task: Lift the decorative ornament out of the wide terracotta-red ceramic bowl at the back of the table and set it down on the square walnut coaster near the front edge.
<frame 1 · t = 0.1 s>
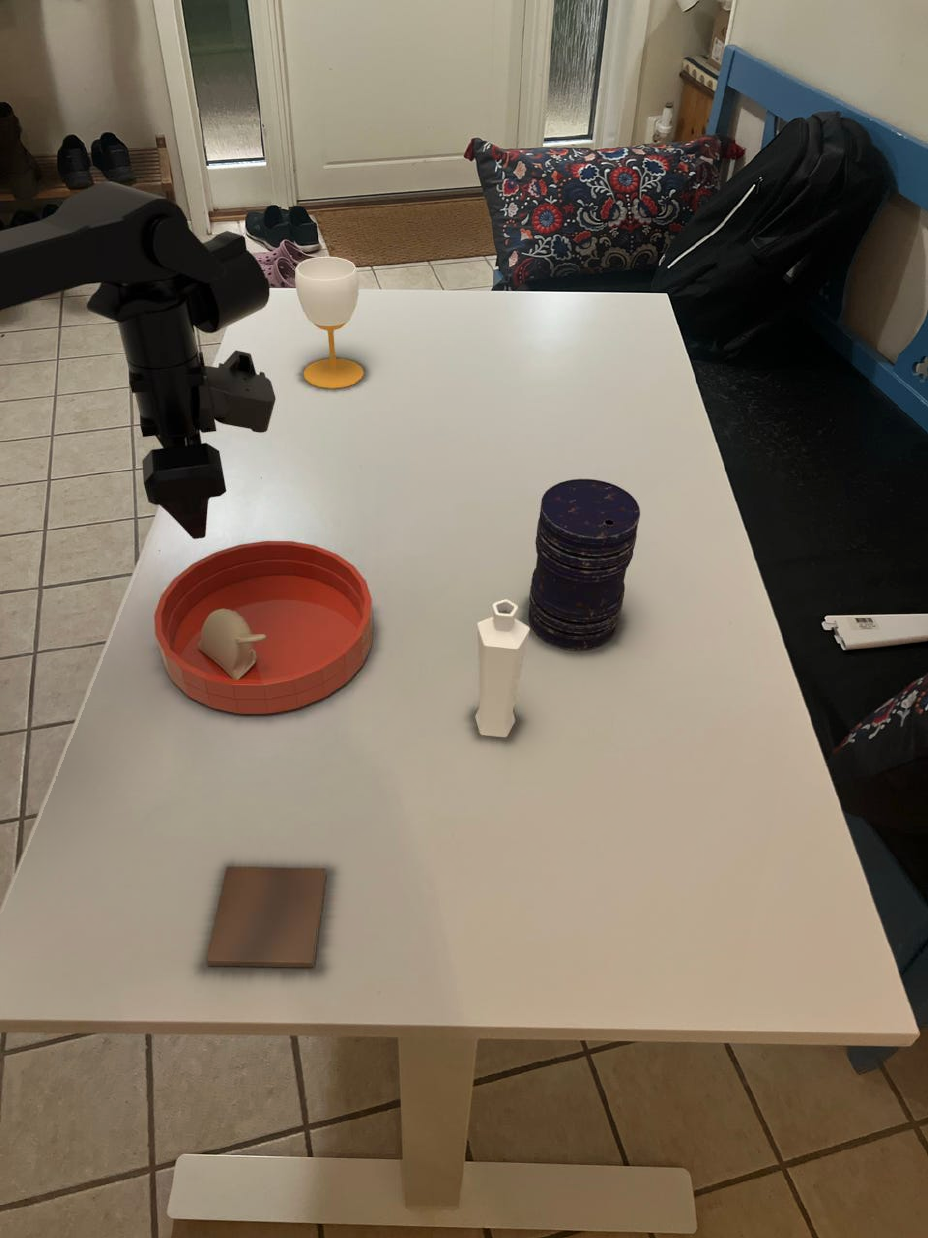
hand: (195, 507, 83), 15 cm above the table, tool pointing down, fingers open, 9 cm apart
perfume bottle: (496, 723, 85), on the table
dark oil barrel: (572, 620, 96), on the table
coaster: (269, 917, 70), on the table
cup: (333, 375, 134), on the table
decorative ornament: (234, 659, 90), resting on bowl
bowl: (269, 638, 93), on the table
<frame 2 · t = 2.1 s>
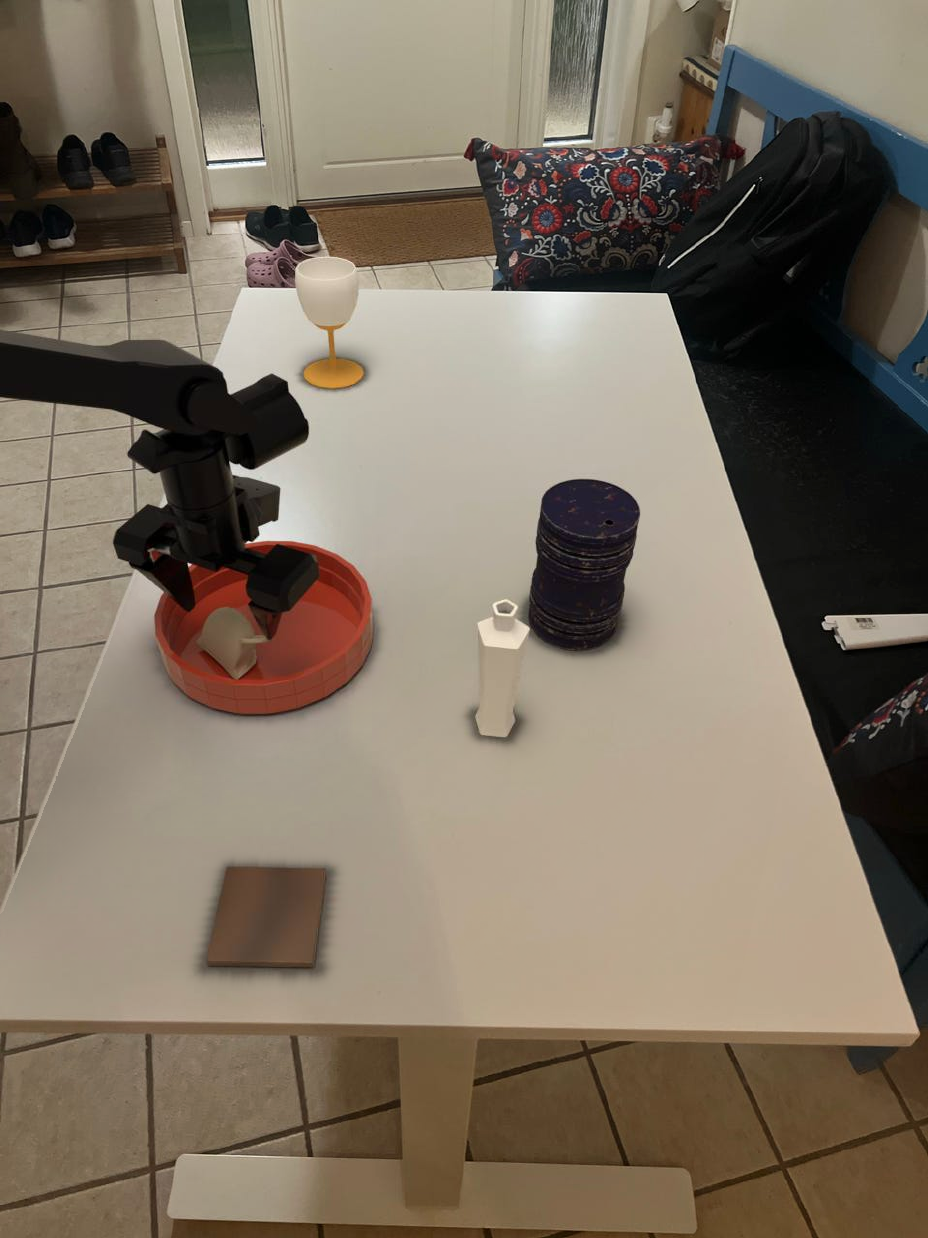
hand: (230, 622, 86), 5 cm above the table, tool pointing down, fingers open, 9 cm apart
decorative ornament: (234, 657, 90), resting on bowl, touching gripper
everything else where it was.
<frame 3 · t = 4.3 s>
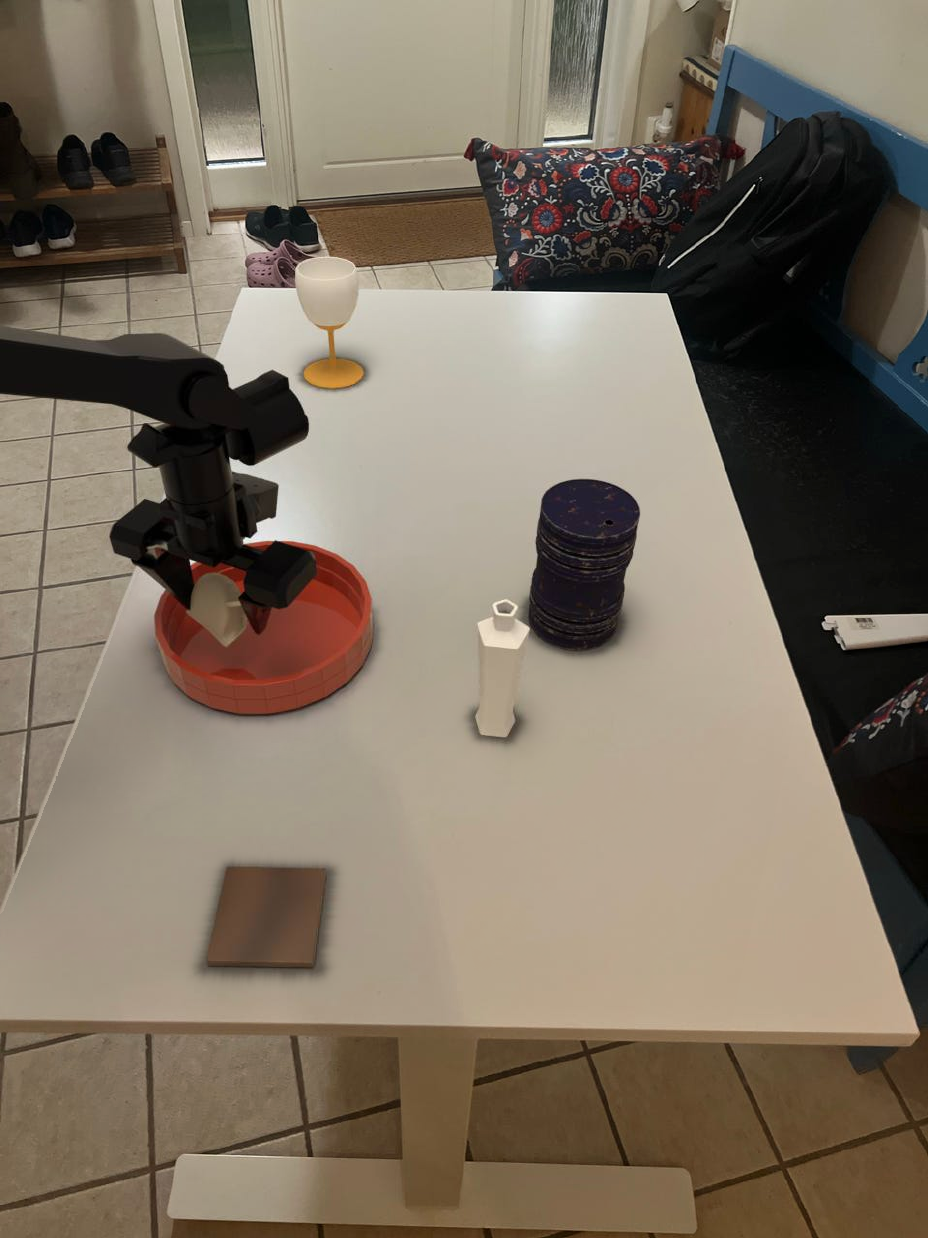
hand: (226, 619, 86), 6 cm above the table, tool pointing down, fingers closed on decorative ornament, 7 cm apart
decorative ornament: (224, 626, 87), point 5 cm above the table, touching gripper
everything else where it was.
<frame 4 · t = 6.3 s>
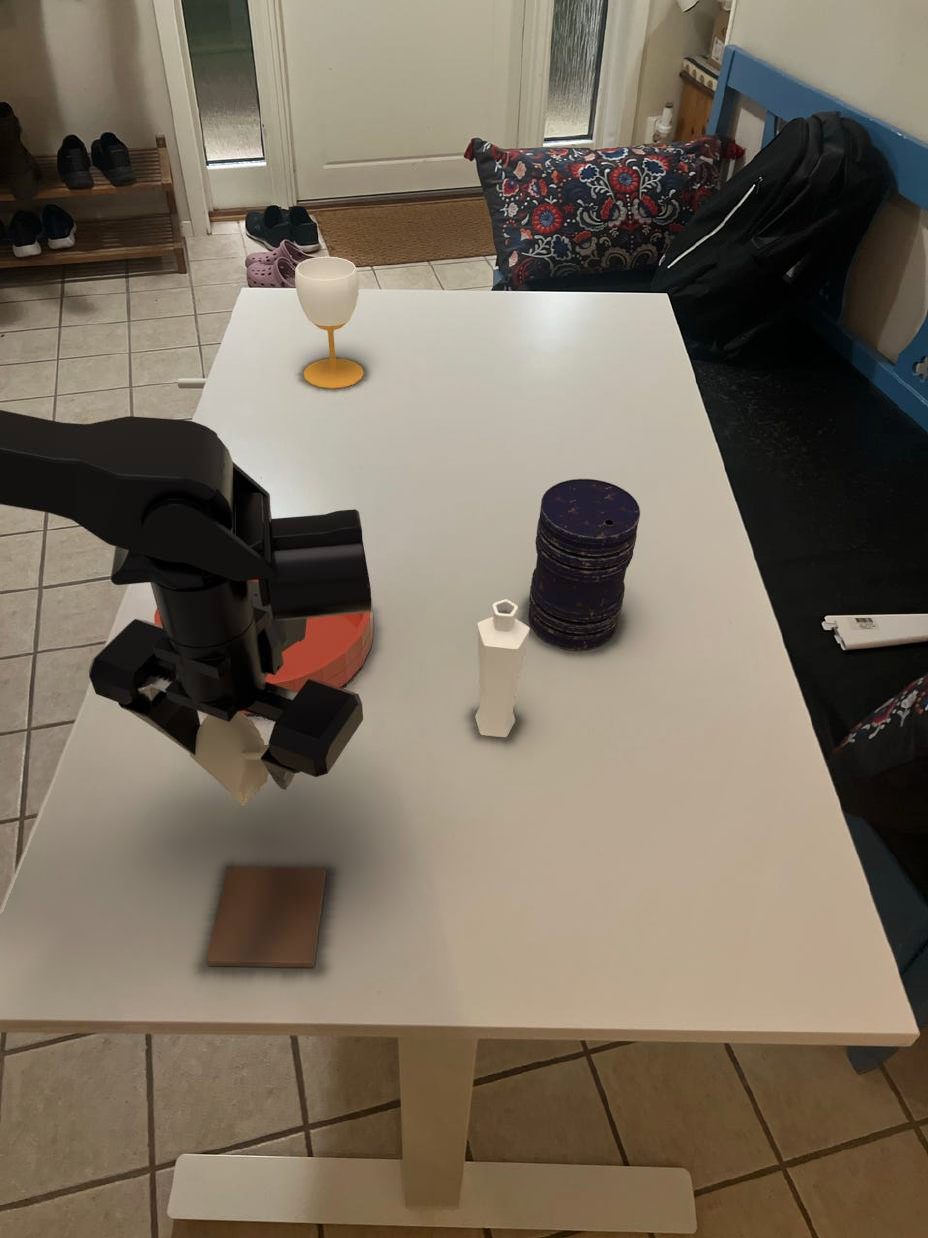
hand: (241, 767, 67), 11 cm above the table, tool pointing down, fingers closed on decorative ornament, 7 cm apart
decorative ornament: (239, 773, 68), point 10 cm above the table, touching gripper
everything else where it was.
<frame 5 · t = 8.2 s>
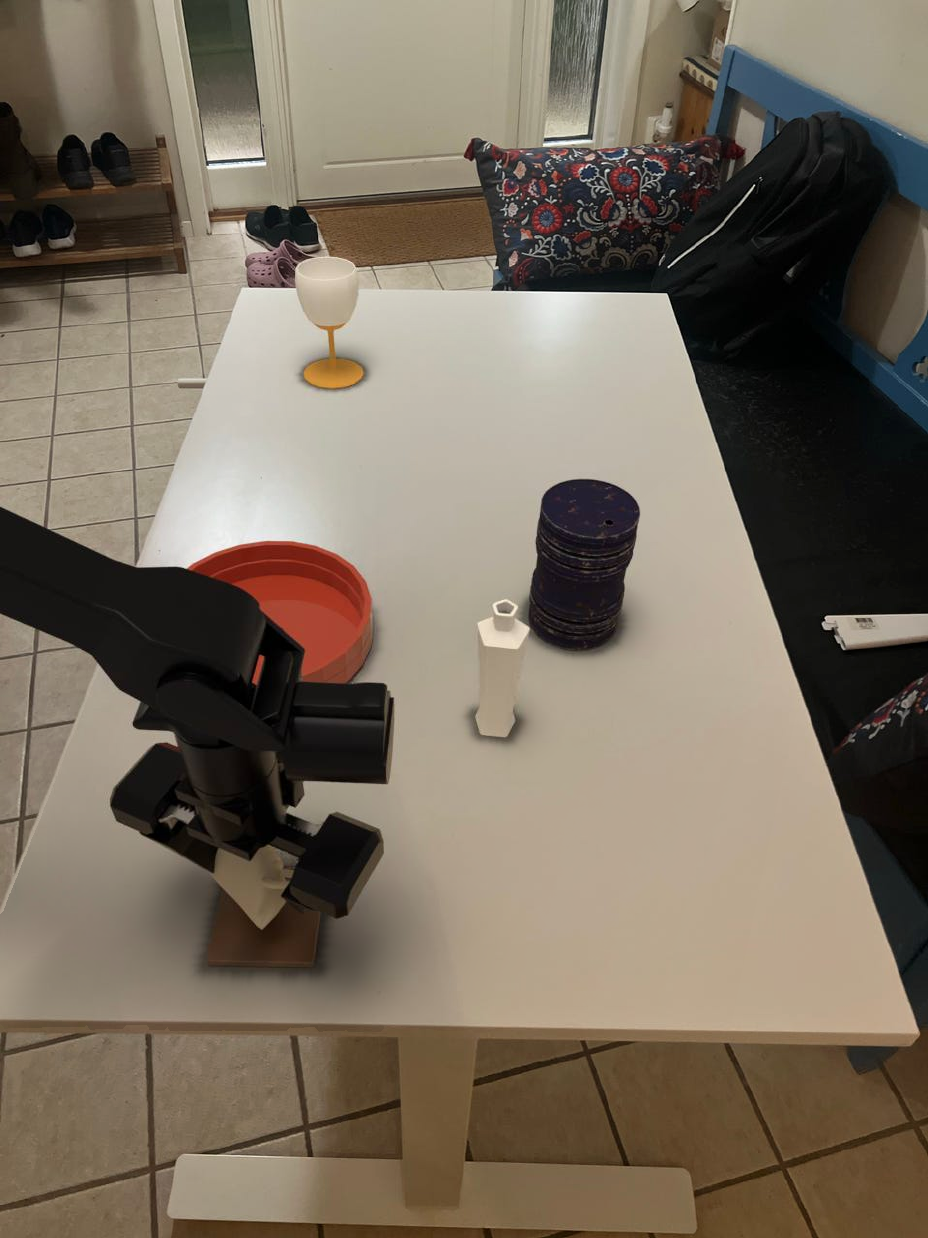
hand: (260, 887, 67), 5 cm above the table, tool pointing down, fingers closed on decorative ornament, 7 cm apart
decorative ornament: (258, 892, 68), point 4 cm above the table, touching gripper
everything else where it was.
when the fingers open (2 cm above the table, at t = 9.7 s): decorative ornament stays where it is, resting on coaster.
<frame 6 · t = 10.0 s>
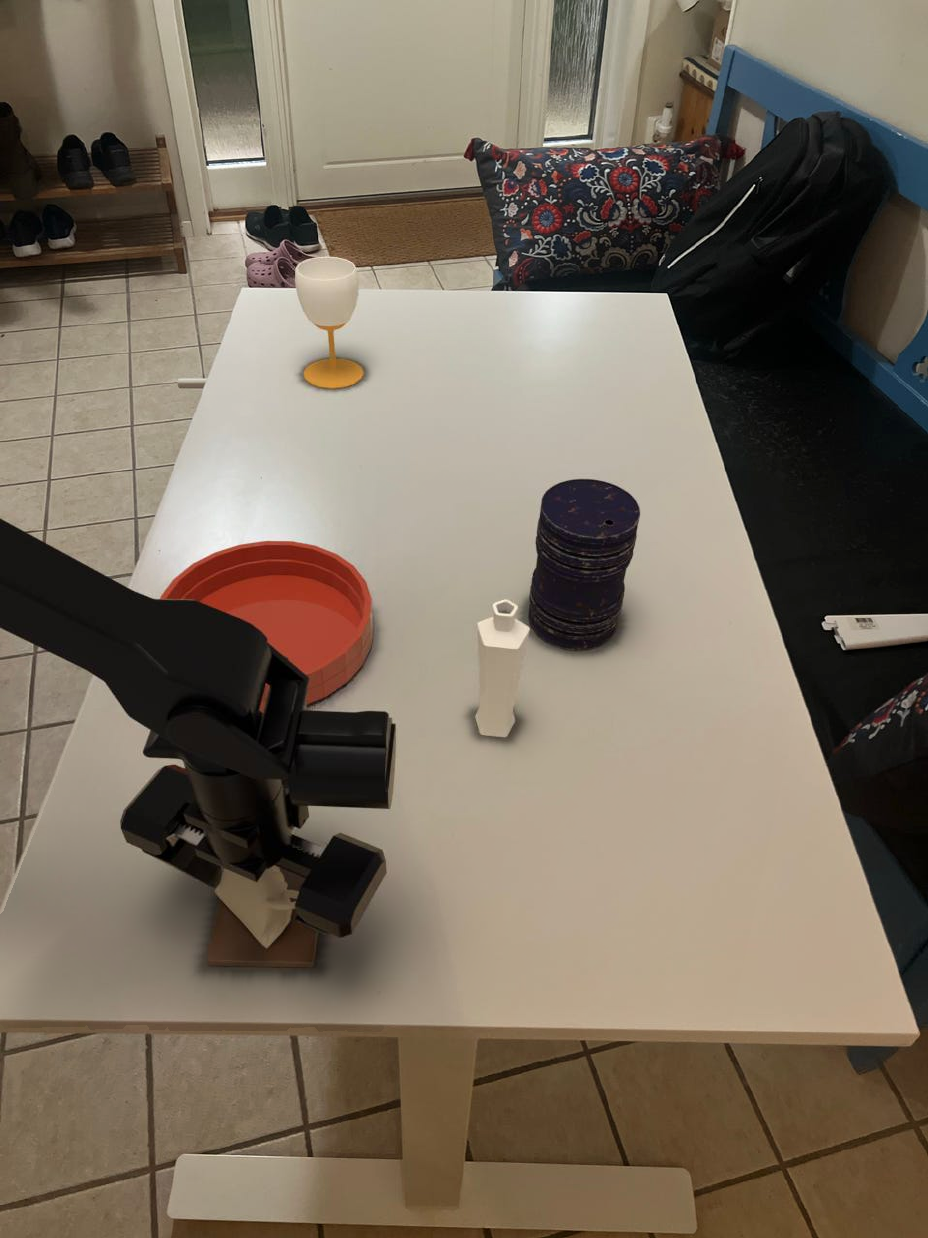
hand: (266, 905, 69), 2 cm above the table, tool pointing down, fingers open, 9 cm apart
decorative ornament: (263, 911, 70), point 1 cm above the table, touching coaster
everything else where it was.
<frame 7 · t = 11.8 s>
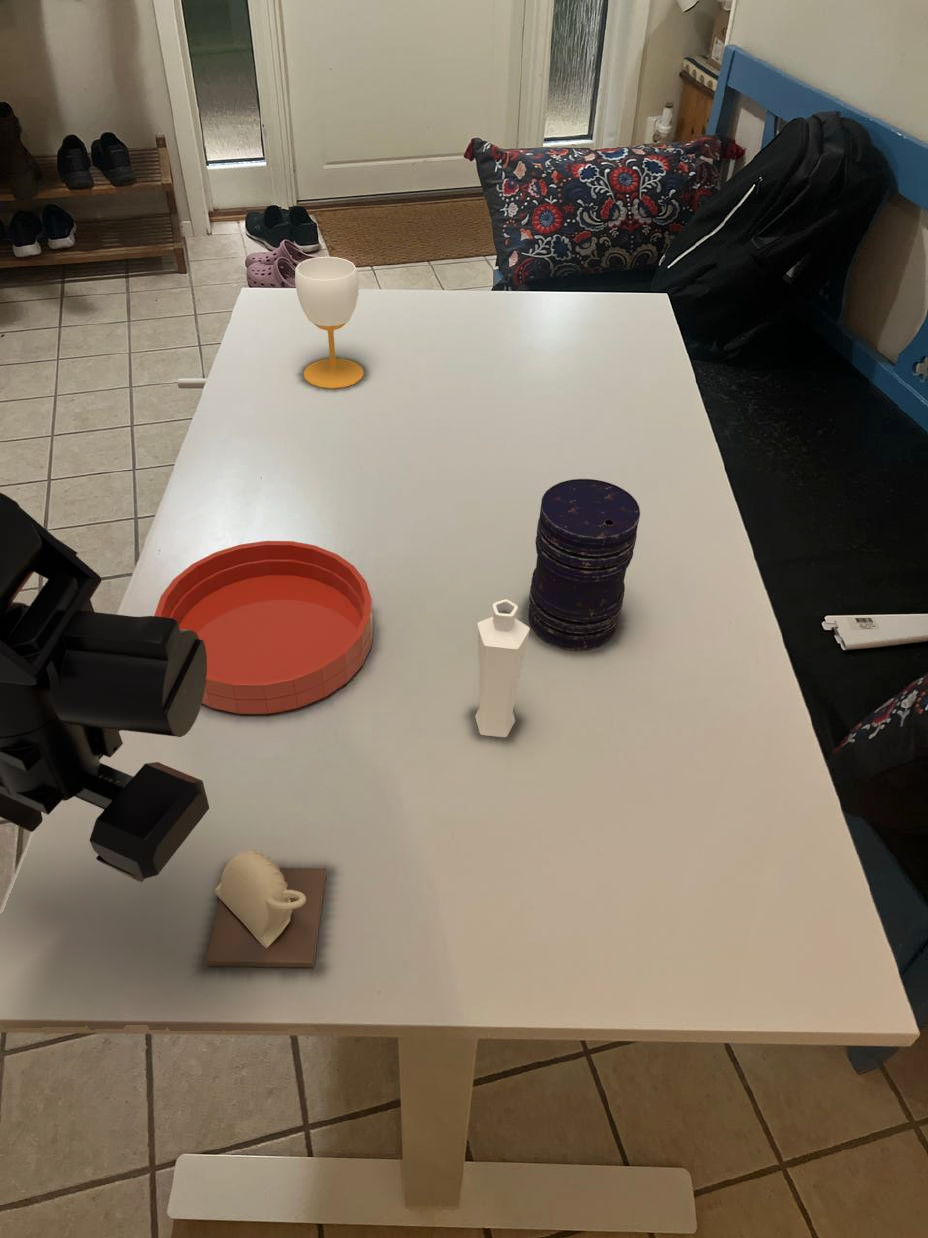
hand: (89, 850, 60), 12 cm above the table, tool pointing down, fingers open, 9 cm apart
nothing on the table moved.
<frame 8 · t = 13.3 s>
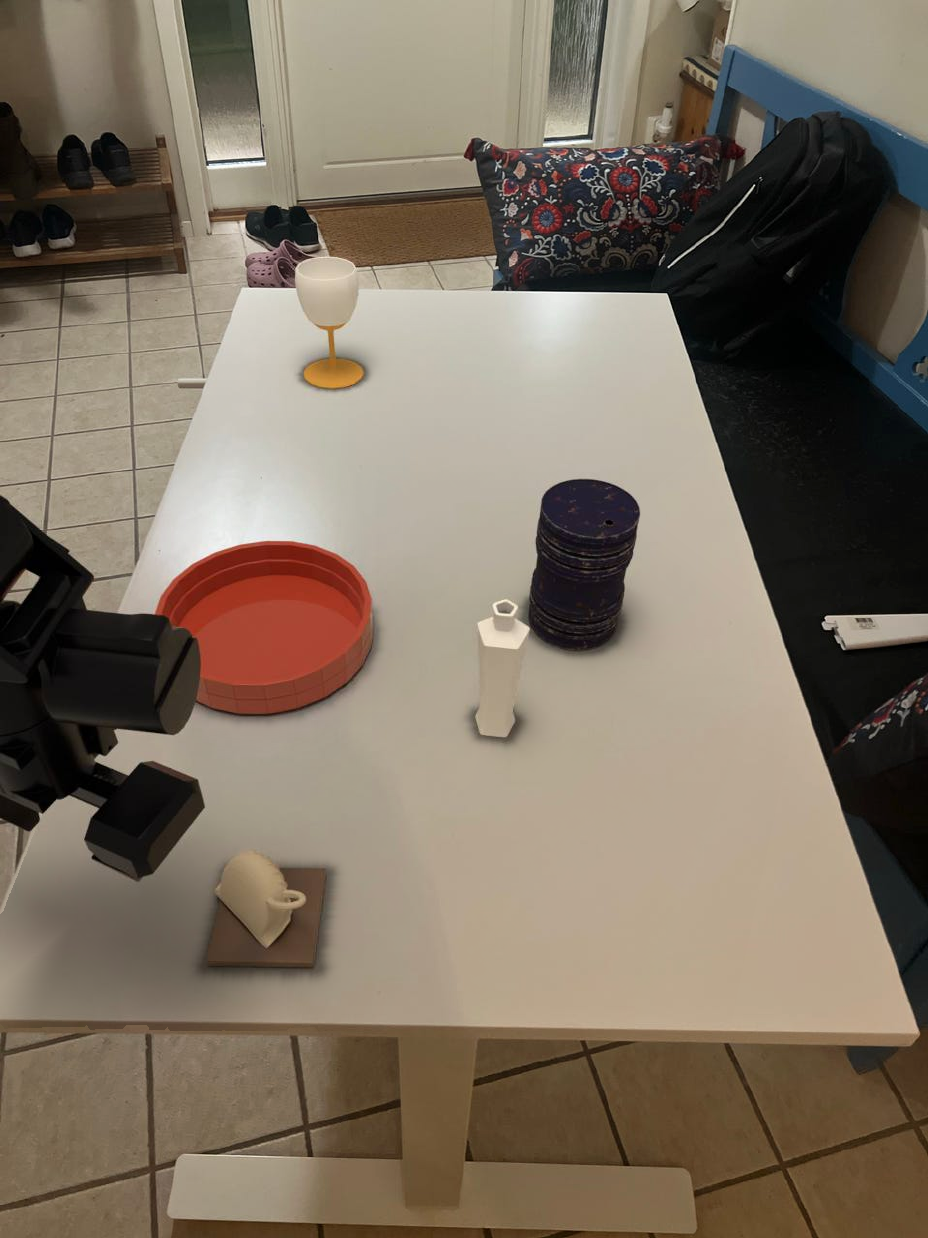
hand: (86, 850, 60), 12 cm above the table, tool pointing down, fingers open, 9 cm apart
nothing on the table moved.
at the end: decorative ornament inside the target area on the coaster (0.5 cm from its centre), point 0.6 cm above the coaster's base; decorative ornament touching coaster; decorative ornament tilted 1° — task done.
